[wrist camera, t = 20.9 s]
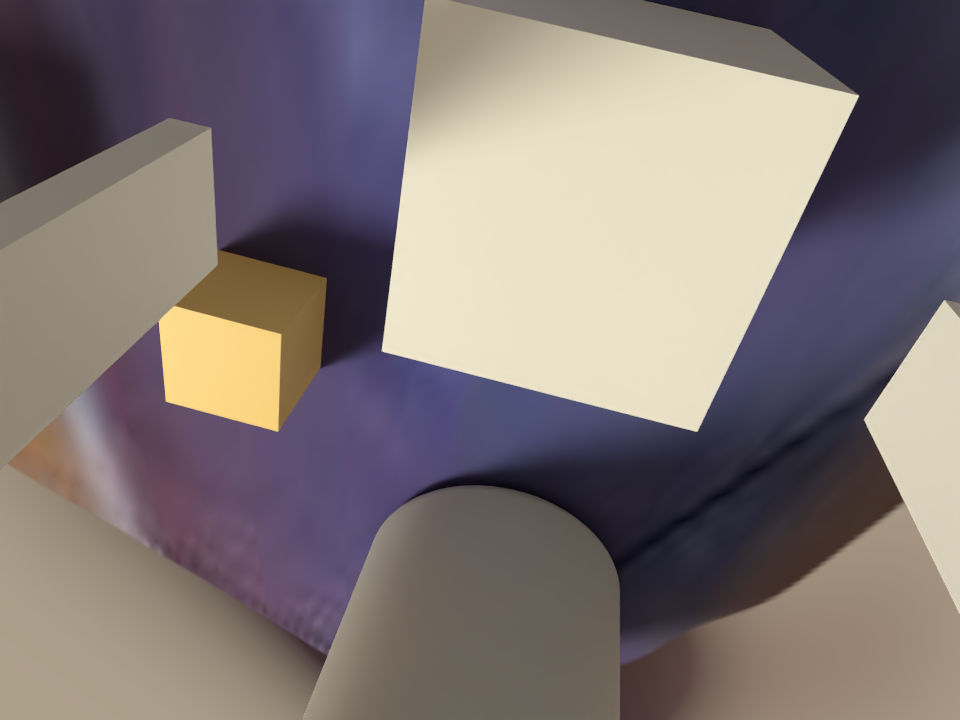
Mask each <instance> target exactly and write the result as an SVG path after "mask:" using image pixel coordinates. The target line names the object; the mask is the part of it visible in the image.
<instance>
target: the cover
mask: <svg viewBox="0 0 960 720" xmlns="http://www.w3.org/2000/svg"><path fill="white" fill-rule="evenodd" d="M858 97H859V95H858V94H856V93H855V92H854V91H852V90H851V89H850V88H848V87H847V86H846V85H844V84H843V83H842V82H840V81H839V80H838V79H836V78H835V77H833V76H832V75H831V74H829V73H828V72H827V71H825V70H824V69H823V68H821V67H820V66H819V65H817V64H816V63H815V62H813V61H812V60H811V59H809V58H808V57H807V56H805V55H804V54H803V53H801V52H800V51H799V50H797V49H796V48H795V47H793V46H792V45H790V44H789V43H788V42H786V41H785V40H784V39H782V38H781V37H780V36H778V35H777V34H776V33H774V32H773V31H772V30H770V29H766V28H762V27H757V26H753V25H749V24H744V23H740V22H736V21H731V20H727V19H722V18H718V17H714V16H709V15H705V14H701V13H696V12H692V11H688V10H683V9H679V8H674V7H670V6H666V5H661V4H657V3H653V2H648V1H644V0H425V4H424V12H423V20H422V28H421V36H420V44H419V52H418V61H417V69H416V77H415V85H414V93H413V101H412V109H411V118H410V126H409V134H408V142H407V150H406V158H405V166H404V175H403V183H402V191H401V199H400V207H399V215H398V224H397V232H396V240H395V248H394V256H393V264H392V272H391V281H390V289H389V297H388V305H387V313H386V321H385V329H384V338H383V346H382V352H386V353H390V354H394V355H398V356H402V357H406V358H410V359H414V360H418V361H422V362H425V363H429V364H433V365H437V366H441V367H445V368H449V369H453V370H457V371H461V372H465V373H469V374H472V375H476V376H480V377H484V378H488V379H492V380H496V381H500V382H504V383H508V384H512V385H516V386H519V387H523V388H527V389H531V390H535V391H539V392H543V393H547V394H551V395H555V396H559V397H563V398H566V399H570V400H574V401H578V402H582V403H586V404H590V405H594V406H598V407H602V408H606V409H609V410H613V411H617V412H621V413H625V414H629V415H633V416H637V417H641V418H645V419H649V420H653V421H656V422H660V423H664V424H668V425H672V426H676V427H680V428H684V429H688V430H692V431H696V432H697V431H698V429H699V427H700V425H701V423H702V421H703V419H704V417H705V415H706V413H707V411H708V409H709V407H710V404H711V402H712V400H713V398H714V396H715V394H716V392H717V390H718V388H719V386H720V384H721V382H722V380H723V377H724V375H725V373H726V371H727V369H728V367H729V365H730V363H731V361H732V359H733V357H734V355H735V353H736V350H737V348H738V346H739V344H740V342H741V340H742V338H743V336H744V334H745V332H746V330H747V328H748V326H749V323H750V321H751V319H752V317H753V315H754V313H755V311H756V309H757V307H758V305H759V303H760V301H761V299H762V296H763V294H764V292H765V290H766V288H767V286H768V284H769V282H770V280H771V278H772V276H773V274H774V272H775V269H776V267H777V265H778V263H779V261H780V259H781V257H782V255H783V253H784V251H785V249H786V247H787V245H788V242H789V240H790V238H791V236H792V234H793V232H794V230H795V228H796V226H797V224H798V222H799V220H800V218H801V215H802V213H803V211H804V209H805V207H806V205H807V203H808V201H809V199H810V197H811V195H812V193H813V191H814V188H815V186H816V184H817V182H818V180H819V178H820V176H821V174H822V172H823V170H824V168H825V166H826V164H827V161H828V159H829V157H830V155H831V153H832V151H833V149H834V147H835V145H836V143H837V141H838V139H839V137H840V134H841V132H842V130H843V128H844V126H845V124H846V122H847V120H848V118H849V116H850V114H851V112H852V110H853V107H854V105H855V103H856V101H857V99H858Z"/></svg>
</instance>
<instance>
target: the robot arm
mask: <svg viewBox="0 0 960 720" xmlns="http://www.w3.org/2000/svg"><path fill="white" fill-rule="evenodd" d="M217 265H218V259H217V239H216V218H215V198H214V178H213V158H212V137H211V128H209V127H205V126H201V125H197V124H192V123H188V122H184V121H180V120H175V119H171V118H169V119H167V120H165V121H163V122H161V123H159V124H157V125H155V126H153V127H151V128H149V129H147V130H145V131H143V132H141V133H139V134H137V135H135V136H133V137H131V138H129V139H127V140H125V141H123V142H121V143H119V144H117V145H115V146H113V147H111V148H109V149H107V150H105V151H103V152H101V153H99V154H97V155H95V156H93V157H91V158H89V159H87V160H85V161H83V162H81V163H79V164H77V165H75V166H73V167H71V168H69V169H67V170H65V171H63V172H61V173H59V174H57V175H55V176H53V177H51V178H49V179H47V180H45V181H43V182H41V183H39V184H37V185H35V186H33V187H31V188H29V189H27V190H25V191H23V192H21V193H19V194H17V195H15V196H13V197H11V198H9V199H7V200H5V201H4V202H2V203H0V470H1V469H2V468H3V467H4V466H5V465H6V464H7V463H8V462H9V461H10V460H11V459H12V458H13V457H14V456H16V455H17V454H18V453H19V452H20V451H21V450H22V449H23V448H24V447H25V446H26V445H27V444H28V443H29V442H30V441H31V440H33V439H34V438H35V437H36V436H37V435H38V434H39V433H40V432H41V431H42V430H43V429H44V428H45V427H46V426H47V425H48V424H49V423H51V422H52V421H53V420H54V419H55V418H56V417H57V416H58V415H59V414H60V413H61V412H62V411H63V410H64V409H65V408H66V407H68V406H69V405H70V404H71V403H72V402H73V401H74V400H75V399H76V398H77V397H78V396H79V395H80V394H81V393H82V392H83V391H85V390H86V389H87V388H88V387H89V386H90V385H91V384H92V383H93V382H94V381H95V380H96V379H97V378H98V377H99V376H100V375H101V374H103V373H104V372H105V371H106V370H107V369H108V368H109V367H110V366H111V365H112V364H113V363H114V362H115V361H116V360H117V359H118V358H120V357H121V356H122V355H123V354H124V353H125V352H126V351H127V350H128V349H129V348H130V347H131V346H132V345H133V344H134V343H135V342H137V341H138V340H139V339H140V338H141V337H142V336H143V335H144V334H145V333H146V332H147V331H148V330H149V329H150V328H151V327H152V326H154V325H155V324H156V323H157V322H158V321H159V320H160V319H161V318H162V317H163V316H164V315H165V314H166V313H167V312H168V311H169V310H170V309H172V308H173V307H174V306H175V305H176V304H177V303H178V302H179V301H180V300H181V299H182V298H183V297H184V296H185V295H186V294H187V293H189V292H190V291H191V290H192V289H193V288H194V287H195V286H196V285H197V284H198V283H199V282H200V281H201V280H202V279H203V278H204V277H206V276H207V275H208V274H209V273H210V272H211V271H212V270H213V269H214V268H215V267H216V266H217ZM864 421H865V423H866V425H867V427H868V429H869V431H870V433H871V435H872V437H873V439H874V441H875V443H876V445H877V447H878V449H879V451H880V453H881V455H882V458H883V460H884V462H885V464H886V466H887V468H888V470H889V472H890V474H891V476H892V478H893V480H894V482H895V484H896V486H897V488H898V490H899V492H900V494H901V496H902V498H903V500H904V502H905V504H906V506H907V508H908V510H909V512H910V514H911V516H912V518H913V521H914V523H915V524H916V527H917V529H918V531H919V533H920V535H921V537H922V539H923V541H924V543H925V545H926V547H927V549H928V551H929V553H930V555H931V557H932V559H933V561H934V563H935V565H936V567H937V569H938V571H939V573H940V575H941V577H942V579H943V581H944V584H945V586H946V588H947V590H948V591H949V593H950V596H951V598H952V600H953V602H954V604H955V606H956V608H957V610H958V612H959V614H960V304H959V303H955V302H951V301H946V300H944V301H943V303H942V304H941V306H940V307H939V309H938V310H937V312H936V313H935V315H934V316H933V318H932V319H931V321H930V322H929V324H928V325H927V327H926V328H925V330H924V331H923V333H922V334H921V335H920V337H919V338H918V340H917V341H916V343H915V344H914V346H913V347H912V349H911V350H910V352H909V353H908V355H907V356H906V358H905V359H904V361H903V362H902V364H901V365H900V367H899V368H898V370H897V371H896V373H895V374H894V376H893V377H892V379H891V380H890V382H889V383H888V385H887V386H886V388H885V389H884V390H883V392H882V393H881V395H880V396H879V398H878V399H877V401H876V402H875V404H874V405H873V407H872V408H871V410H870V411H869V413H868V414H867V416H866V417H865V419H864Z"/></svg>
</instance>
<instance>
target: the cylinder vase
mask: <svg viewBox="0 0 960 720" xmlns="http://www.w3.org/2000/svg"><path fill="white" fill-rule="evenodd" d="M302 720H620V585H619V579H618V575H617V571H616V568H615V566H614V563H613V561H612V559H611V557H610V555H609V553H608V552H607V550H606V548H605V547H604V546H603V544H602V543H601V542H600V540H599V539H598V538H597V537H596V536H595V534H594V533H593V532H592V531H591V530H590V529H589V528H588V527H586V526H585V525H584V524H583V523H582V522H581V521H579V520H578V519H577V518H575V517H574V516H573V515H571V514H570V513H568V512H567V511H565V510H563V509H562V508H560V507H558V506H556V505H554V504H552V503H550V502H548V501H546V500H543V499H541V498H539V497H536V496H533V495H530V494H527V493H524V492H520V491H516V490H512V489H507V488H502V487H494V486H482V485H467V486H455V487H448V488H443V489H439V490H435V491H432V492H429V493H426V494H423V495H421V496H418V497H416V498H414V499H412V500H410V501H409V502H407V503H405V504H404V505H402V506H401V507H399V508H398V509H397V510H396V511H395V512H393V513H392V514H391V515H390V516H389V517H388V518H387V520H386V521H385V522H384V523H383V525H382V526H381V527H380V529H379V531H378V532H377V534H376V537H375V539H374V541H373V544H372V546H371V549H370V551H369V554H368V556H367V559H366V561H365V564H364V566H363V569H362V571H361V574H360V576H359V579H358V581H357V584H356V586H355V589H354V591H353V594H352V596H351V599H350V601H349V604H348V606H347V609H346V611H345V614H344V616H343V619H342V621H341V624H340V626H339V629H338V631H337V634H336V636H335V639H334V641H333V644H332V646H331V649H330V651H329V654H328V656H327V659H326V661H325V664H324V666H323V669H322V672H321V674H320V677H319V679H318V682H317V684H316V687H315V689H314V692H313V694H312V697H311V699H310V702H309V704H308V707H307V709H306V712H305V714H304V717H303V719H302Z"/></svg>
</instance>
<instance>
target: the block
mask: <svg viewBox="0 0 960 720" xmlns="http://www.w3.org/2000/svg"><path fill="white" fill-rule="evenodd" d="M217 259H218V265H217V266H216V267H215V268H214V269H213V270H212V271H211V272H210V273H209V274H208V275H207V276H206V277H204V278H203V279H202V280H201V281H200V282H199V283H198V284H197V285H196V286H195V287H194V288H193V289H192V290H191V291H190V292H189V293H187V294H186V295H185V296H184V297H183V298H182V299H181V300H180V301H179V302H178V303H177V304H176V305H175V306H174V307H173V308H172V309H170V310H169V311H168V312H167V313H166V314H165V315H164V316H163V317H162V318H161V319H160V320H159V328H160V339H161V351H162V362H163V373H164V384H165V395H166V402H170V403H173V404H177V405H181V406H185V407H188V408H192V409H196V410H199V411H203V412H207V413H211V414H214V415H218V416H222V417H226V418H229V419H233V420H237V421H240V422H244V423H248V424H252V425H255V426H259V427H263V428H266V429H270V430H274V431H279V430H280V428H281V427H282V425H283V424H284V422H285V421H286V419H287V418H288V416H289V415H290V413H291V412H292V410H293V409H294V407H295V406H296V404H297V403H298V401H299V400H300V398H301V397H302V395H303V394H304V392H305V391H306V389H307V388H308V386H309V385H310V383H311V382H312V380H313V379H314V377H315V376H316V374H317V373H318V371H319V370H320V367H321V353H322V339H323V326H324V312H325V298H326V285H327V278H325V277H321V276H317V275H313V274H309V273H305V272H302V271H298V270H294V269H290V268H286V267H282V266H279V265H275V264H271V263H267V262H263V261H259V260H256V259H252V258H248V257H244V256H240V255H236V254H232V253H229V252H225V251H221V250H219V251H218V252H217Z"/></svg>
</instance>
